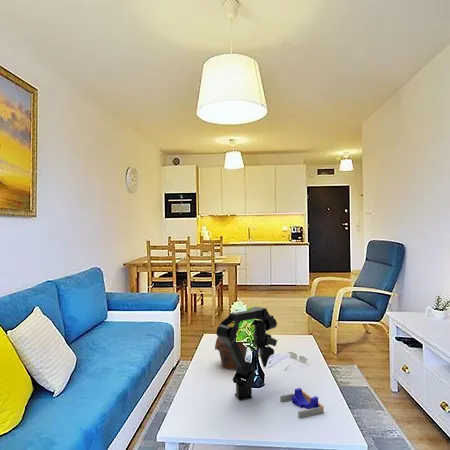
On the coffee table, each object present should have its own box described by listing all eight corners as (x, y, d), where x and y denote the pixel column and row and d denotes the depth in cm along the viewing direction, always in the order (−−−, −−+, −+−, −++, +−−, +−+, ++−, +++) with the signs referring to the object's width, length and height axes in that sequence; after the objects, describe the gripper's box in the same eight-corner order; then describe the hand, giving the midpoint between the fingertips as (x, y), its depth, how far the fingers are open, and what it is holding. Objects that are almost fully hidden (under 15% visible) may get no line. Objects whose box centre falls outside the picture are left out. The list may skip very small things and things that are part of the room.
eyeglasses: (308, 364, 232) (308, 358, 232) (285, 372, 222) (285, 364, 222) (289, 357, 245) (289, 350, 245) (266, 363, 235) (266, 357, 234)
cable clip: (292, 403, 184) (292, 390, 184) (299, 400, 187) (299, 387, 187) (310, 413, 174) (310, 400, 174) (318, 411, 176) (318, 397, 176)
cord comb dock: (299, 417, 170) (299, 410, 170) (280, 400, 186) (280, 394, 186) (323, 412, 174) (323, 405, 174) (302, 396, 190) (302, 390, 190)
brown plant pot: (217, 358, 242) (216, 329, 242) (250, 359, 240) (250, 330, 240) (213, 370, 225) (212, 338, 224) (249, 371, 223) (248, 339, 222)
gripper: (283, 335, 194) (284, 367, 195) (266, 326, 212) (266, 355, 212) (262, 338, 191) (263, 371, 191) (247, 328, 208) (247, 358, 208)
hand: (260, 363), depth 201 cm, fingers open, 9 cm apart
